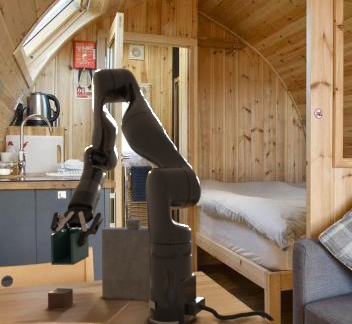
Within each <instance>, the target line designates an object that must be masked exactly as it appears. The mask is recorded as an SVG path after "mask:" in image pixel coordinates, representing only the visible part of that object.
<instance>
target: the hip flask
mask: <svg viewBox="0 0 352 324" xmlns="http://www.w3.org/2000/svg"><path fill="white" fill-rule="evenodd" d="M141 222H142V219H141V218H135V217H133V218H126V219H125V223H126V227H103V228H101V281H102V282H101V285H102V286H101V288H102V289H101V290H102V291H101V293H102V295H101V296H102V298H128V299H130V300H131V301H132V300H135V301H147V302H149V300H150V265H149V256H150V255H149V242H150V241H149V231H148V226H142V225H141V224H140V223H141Z"/></svg>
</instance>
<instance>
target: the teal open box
mask: <svg viewBox="0 0 352 324" xmlns="http://www.w3.org/2000/svg"><path fill="white" fill-rule="evenodd" d="M81 232H83V230H82V228H71V229H70V230H69V231H67V230H63V231H60V232H57V233H52V234H50V261H51V263H50V264H51V266H73V265H76V264H77V263H80V262H81V261H83V260H85V259H87V258H89V257H90V252H89V251H90V250H89V249H90V248H89V246H90V245H89V236H88V237H87V240H86V243H85V245H83V247H79V245H78V240H79V237H80V234H81Z"/></svg>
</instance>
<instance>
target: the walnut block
mask: <svg viewBox="0 0 352 324" xmlns="http://www.w3.org/2000/svg"><path fill="white" fill-rule="evenodd" d="M73 304H74V288H67V287H65V288H62V287H57V288H56V289H53V290H51V291H49V292H47V308H48V309H59V310H60V309H61V310H62V309H63V310H64V309H66V308H68V307H69V306H72V305H73Z"/></svg>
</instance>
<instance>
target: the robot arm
mask: <svg viewBox="0 0 352 324" xmlns="http://www.w3.org/2000/svg"><path fill="white" fill-rule="evenodd" d="M91 93H92V94H91V96H92V97H91V98H92V117H93V127H92V133H91V141H90V142H91V145H89V146H87V147H86V148H85V149H84V151H83V159H82V160H83V161H82V163H83V166H82V167H83V168H82V173H81V175H80V178H79V180H78V182H77V185H76V186H75V188H74V190H73V192H72V195H71V198H70V199H69V202H68V205H67V209H66V211H64V213H59V212H57V211H56V212H54V213H53V215H52V221H51V224H50V231H51V232H52V234H54V233H57V232H60V231H63V230H67V231H69V230H70V229H75V228H78V229H82V230H83V232H81V234H80V237H79V240H78V245H79V247H83V245H85V243H86V240H87V237H88V238H89V236H90V235H93V236H94V235H96V234H97V233H98V231H99V228H100V227H101V224H102V223H103V221H104V217H103V215H102V213H101V212H97V213H95V212H96V211H97V210H96V209H97V207H98V203H99V201H100V199H101V195H102V190H103V187H104V184H105V181H106V173H105V172H112V171H113V170H115V168H116V167H117V165H118V162H119V161H118V160H119V156H118V150H117V148H116V142H117V136H118V126H117V123H116V121H115V119H114V118H113V117H112V115H111V114H110V113H109V111H108V109H107V108H106V104H119V103H127V104H128V105H127V108H126V110H125V111H124V113H123V115H122V118H121V121H120V130H121V132H122V135H123V137H124V139H125V140H126V143H127V144H128V146H129V148H130V149H131V150H132V151H133V152H134V153H135V154H136V155H138V156H139V157H141V158H142V159H143V160H144V161H147V162H148V163H150V164H152V165H153V166H155V167H153V168H152V169H151V170H149V172H148V174H147V177H146V180H145V182H146V183H145V201H146V202H145V203H146V219H147V220H146V221H147V223H146V224H147V227H148V231H149V241H150V242H149V255H150V256H149V265H150V300H149V301H148V308H149V315H148V317H149V318H148V319H149V323H150V324H190V323H191V322H192V321H193V320H195V318H197V315H198V314H199V313H201V312H202V311H204V312H208V313H210V314H212V316H213V317H214V318H215V319H217V320H219V321H231V320H237V319H240V318H248V317H256V316H260V317H263V318H265V319H266V320H267V321H270V322H273V321H275V319H274V318H273V316H272V315H270V314H269V313H267V312H265V311H262V310H251V311H246V312H245V311H244V312H238V313H235V314H228V315H227V314H225V315H222V314H220V313H219V312H218V311H217V310H216V309H214V308H212V307H210V306H207V305H206V297H202V296H197V275H196V273H193V229H192V227H190V226H189V225H186V224H182V223H179V222H177V221H176V220H174V219H173V218H172V214H171V213H172V212H171V211H172V210H184V209H189V208H193V207H195V206H196V205H197V204H198V203H199V202H200V200H201V197H202V188H201V182H200V179H199V177H198V175H197V173H196V171H195V170H194V169H193V167H192V166H191V165H190V163H189V162H188V161H187V160H186V159H185V157H184V155H182V154H181V152H180V151H179V150H178V148H177V147H176V146H175V144H174V143H173V141H172V140H171V139H170V137H169V136H168V134H167V133H166V130H165V129H164V127H163V124H162V123H161V122H160V120H159V118H158V117H157V116H156V114H155V113H154V112H153V110H152V108H151V107H150V105H149V103H148V102H147V100H146V98H145V96H144V94H143V92H142V89H141V87H140V85H139V83H138V80H137V78H136V77H135V75H134V73H133V72H132V70H130V69H127V68H123V67H122V68H120V67H119V68H101V69H97V70H95V71H94V73H93V76H92V81H91ZM104 171H105V172H104ZM91 221H92V222H91ZM90 222H91V224H90V226H89V223H90Z"/></svg>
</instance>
